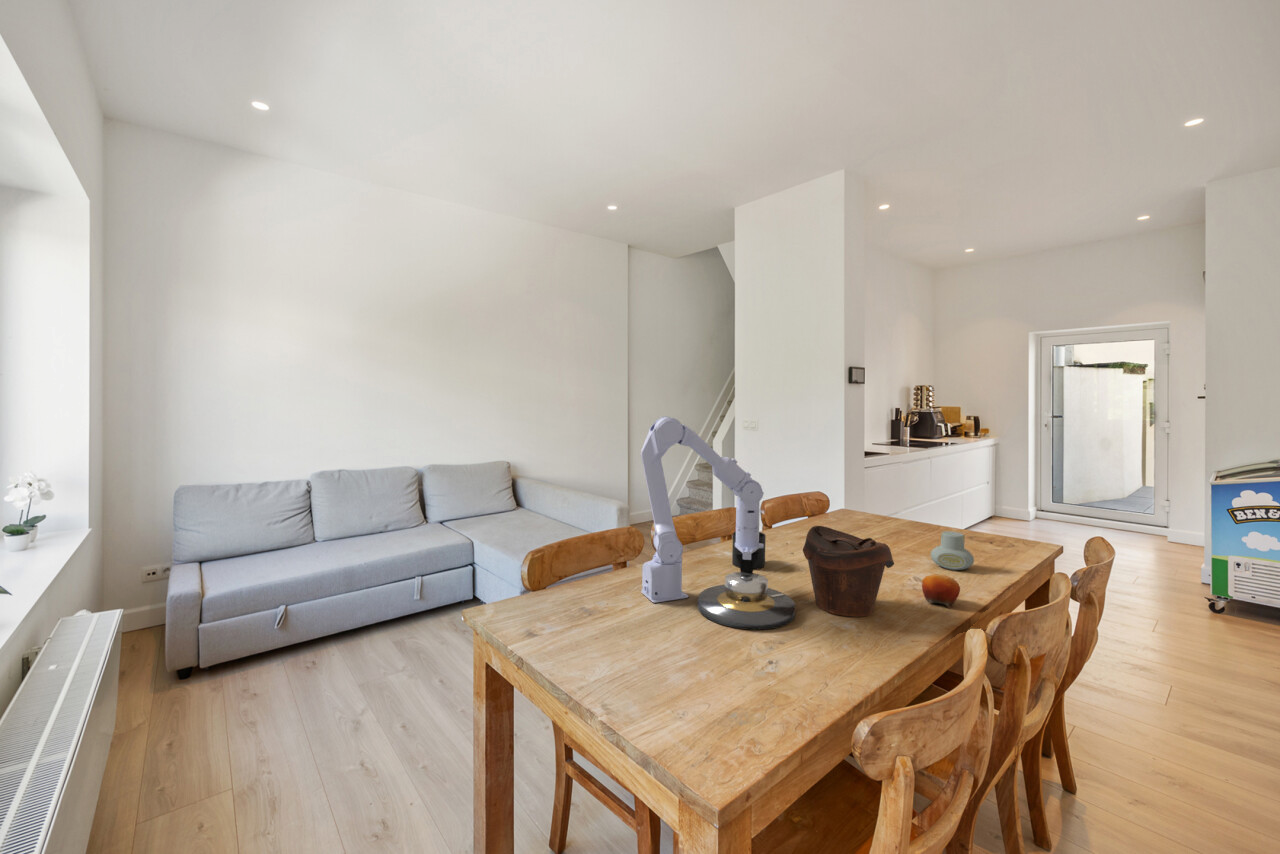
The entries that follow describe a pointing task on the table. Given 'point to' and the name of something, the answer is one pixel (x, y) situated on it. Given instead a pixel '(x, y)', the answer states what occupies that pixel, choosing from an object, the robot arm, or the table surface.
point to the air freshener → (952, 552)
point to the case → (845, 570)
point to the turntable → (746, 609)
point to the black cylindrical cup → (761, 551)
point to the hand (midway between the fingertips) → (746, 579)
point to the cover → (746, 586)
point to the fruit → (940, 589)
